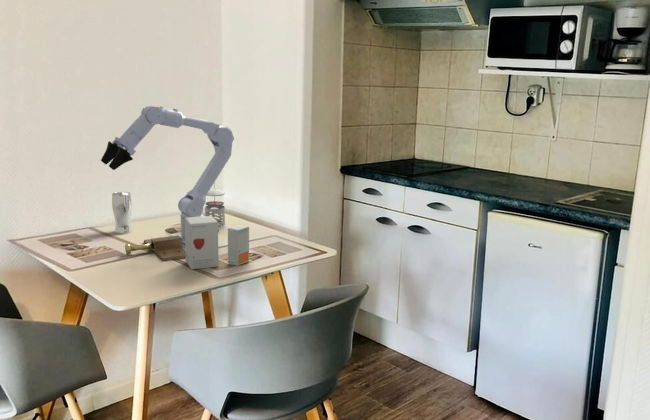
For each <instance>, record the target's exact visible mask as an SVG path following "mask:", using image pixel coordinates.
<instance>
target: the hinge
mask: <svg viewBox="0 0 650 420" xmlns="http://www.w3.org/2000/svg"><path fill="white" fill-rule="evenodd" d="M150 243H154V248H152V249H150V251H152V252H153V253H154V254H155V255H156V256H157V257H158V258H159V259H161V260H162V261H163V262H167V261H171V260H172V261H173V259H174V260H179V259H186V249H184V248H183V243H182V238H181V235H178V234H177V235H172V236H171V235H169V236H161V237H155V238H154V237H153V238H149V239H143V244H150ZM166 260H167V261H166Z"/></svg>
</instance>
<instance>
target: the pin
mask: <svg viewBox="0 0 650 420" xmlns="http://www.w3.org/2000/svg"><path fill="white" fill-rule="evenodd" d="M124 248H125V249H124V250H125V255H131V252H135V251H137V252H138V251H143V250H151V249H152V248H154V243H150V244H145V243H143V244H137V245H135V244H134V245H130V243H125V244H124Z"/></svg>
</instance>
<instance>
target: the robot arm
mask: <svg viewBox="0 0 650 420" xmlns="http://www.w3.org/2000/svg"><path fill="white" fill-rule="evenodd" d="M140 113H141V114H140V115H139V116H138V117H137V119H135V120H134V121H133V122H132V124H131V125H130V126H129V127H127V129H126V130H125V131H124V132H123V134H122V135H120V137H118V136H115V137H114V140H113V141H112V142H111V141H110V140H109V141H108V143H107V146H106V149H105V152H104V153H103V155H102V157H101V159H100V161H101V163H103V164H104V165H107V164H109V165H108V167H109V168H110V169H111V170H112V171H115V170H117V169H118V168H120V167H121V166H122V165H124V164H126V163H128V162H131V161H133V159H134V158H133V157H132V156H134V154H135V153H136V152H137V151H136V150H135V148H137V146H138V145H139V144H140V143H141V142H142V140H143V139H144V138H145V137H147V135H148V134H149V133H150V132H151V130H152V128H153V127H155V125H160V126H165V127H170V128H175V129H179V128H180V127H182V126H184V127H185V126H186V127H190V128H194V129H199V130H201V131H203V132H204V134H206V135H207V138H208V139H209V141H210V142H211V144H212V145H213V149H214V154H213V156H212V158H211V159H210V161H209V162H208V164H207V165H206V167H205V169H204V170H203V172H202V173H201V175H200V176H199V178H198V180H197V181H196V183H195V185H194V186H193V188H192V189H190V190H189V191H188V192H186V194H185V195H184V196H183V197H181V198H180V200H179V201H178V204H177V208H178V210H179V212H181V214H180V237H181V238H182V244H184V245H185V218H187V217H201V216H202V215H203V213H204V211H203V210H204V206H205V205H206V202H207V201H206V200H207V197H206V196H207V193H208V192H209V190H211V188H212V187H213V186H214V182H216V181H217V179H218V177H219V176H220V174H221V172H222V171H223V169H224V168H225V166H226V164H227V163H228V161H229V159H230V158H231V157H232V148H233V141H234V140H235V138H234V137H235V136H234V134H233V132H232V130H231V128H229V127H228V126H223V125H222V124H219V123H216V122H214V121H210V120H206V119H202V118H201V119H200V118H195V117H194V118H193V117H189V116H184V115H183V113H182V111H179V109H177V108H173V109H168V108H164V106H155V105H147V106H145V107H143V108H142V110H141V111H140ZM205 197H206V199H205ZM202 212H203V213H202Z"/></svg>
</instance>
